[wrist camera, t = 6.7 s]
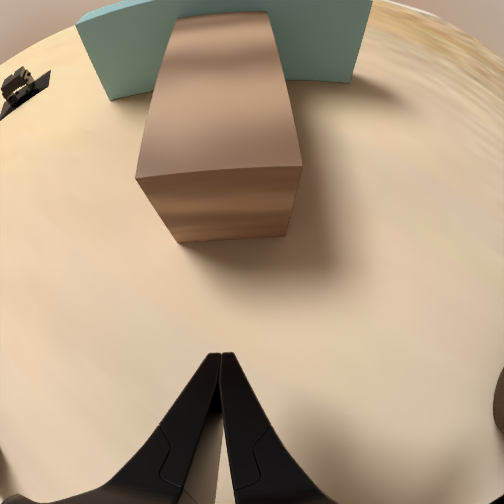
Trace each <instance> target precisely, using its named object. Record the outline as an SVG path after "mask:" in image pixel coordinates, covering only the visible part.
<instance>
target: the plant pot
mask: <svg viewBox="0 0 504 504" xmlns="http://www.w3.org/2000/svg"><path fill="white" fill-rule="evenodd" d="M494 419H495V422H496V424H497V426H498V427H499V428H500V429H501V430H502V432H503V433H504V368H503V370H502V372H501V375H500V377H499V380H498V383H497V387H496V391H495V397H494Z"/></svg>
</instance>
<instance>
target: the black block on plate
mask: <svg viewBox="0 0 504 504" xmlns="http://www.w3.org/2000/svg"><path fill="white" fill-rule="evenodd" d="M50 73H51V70H50V71H48V72H47V73H45V74H43V75H42V76H40V77H39V78H37V79H36V80H34V79H33V78H32V76H31V73H30V72H29V71H28V70H25V68H24V67H23V66H22V67H21V68H20V69H18V70H17V71H15V73H14V76H13V75H12V74H11V75H10V76H9V77H7V78H6V79H5V80H4V82H3V85H2V87H1V91H2V92H3V93H2V95H3V97H4V98H5V99H6V100H7V101H5V102H4V105H3V108H2V111H1V114H0V121H1V120H2V119H3V118H4V117H6V116H7V115H8V114H10V113H11V112H12V111H14V110H15V109H16V108H18V107H19V106H20V105H22V104H23V103H25V102H26V101H27V100H29V99H30V98H32V97H33V96H35V95H36V94H38V93H39V92H41V91H42V90H44V89H45V88H47V87H48V86H49V79H50ZM25 84H26V86H24V87H23V88H21V89H20V90H19V91H16V92H15V94H14V93H13V91H15V90H16V89H17V88H19V87H22V86H23V85H25Z"/></svg>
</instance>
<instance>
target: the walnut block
mask: <svg viewBox="0 0 504 504" xmlns="http://www.w3.org/2000/svg"><path fill="white" fill-rule="evenodd" d="M302 168H303V164H302V158H301V153H300V148H299V143H298V137H297V133H296V128H295V123H294V118H293V113H292V109H291V104H290V100H289V95H288V91H287V87H286V82H285V78H284V74H283V70H282V66H281V62H280V58H279V54H278V50H277V46H276V42H275V39H274V35H273V31H272V28H271V24H270V21H269V17H268V14H267V11H247V12H227V13H215V14H205V15H197V16H189V17H183V18H177V20H176V23H175V25H174V28H173V31H172V34H171V36H170V39H169V42H168V45H167V48H166V51H165V54H164V58H163V61H162V64H161V67H160V71H159V74H158V77H157V81H156V85H155V88H154V92H153V96H152V100H151V103H150V108H149V112H148V116H147V120H146V124H145V129H144V134H143V138H142V143H141V148H140V153H139V159H138V164H137V170H136V176H135V179H136V181H137V182H138V184H139V185H140V187H141V188H142V190H143V192H144V193H145V195H146V196H147V198H148V199H149V201H150V202H151V204H152V206H153V207H154V209H155V210H156V212H157V213H158V215H159V216H160V218H161V219H162V221H163V222H164V224H165V225H166V227H167V228H168V230H169V231H170V233H171V234H172V236H173V237H174V239H175V240H176V241H177V243H183V242H198V241H214V240H231V239H248V238H266V237H285V234H286V230H287V226H288V222H289V219H290V215H291V211H292V207H293V203H294V199H295V195H296V191H297V188H298V184H299V180H300V176H301V172H302Z"/></svg>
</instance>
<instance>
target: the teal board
mask: <svg viewBox="0 0 504 504" xmlns="http://www.w3.org/2000/svg"><path fill="white" fill-rule="evenodd" d="M372 2H373V1H372V0H125V1H121V2H118V3H115V4H112V5H108V6H105V7H103V8H100V9H97V10H94V11H91V12H89V13H86V14H85V15H84V16H83V17H82V18H81V19H80V20H79V21H78V22H77V23H76V24H75V26H76V28H77V30H78V33H79V35H80V37H81V40H82V42H83V44H84V46H85V49H86V51H87V53H88V55H89V57H90V60H91V62H92V64H93V66H94V68H95V70H96V73H97V75H98V77H99V79H100V81H101V83H102V85H103V87H104V89H105V91H106V94H107V96H108V98H109V100H113V99H118V98H122V97H126V96H131V95H135V94H140V93H145V92H151V91H154V88H155V85H156V81H157V77H158V74H159V71H160V67H161V64H162V61H163V58H164V54H165V51H166V48H167V45H168V42H169V39H170V36H171V34H172V31H173V28H174V25H175V23H176V20H177V18H183V17H189V16H197V15H205V14H215V13H227V12H247V11H267V14H268V17H269V21H270V24H271V28H272V31H273V35H274V39H275V42H276V46H277V50H278V54H279V58H280V62H281V66H282V70H283V74H284V78H285V80H313V81H330V82H342V83H350V80H351V76H352V73H353V70H354V66H355V63H356V60H357V56H358V53H359V49H360V46H361V42H362V39H363V35H364V32H365V28H366V24H367V21H368V17H369V13H370V10H371V6H372Z"/></svg>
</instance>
